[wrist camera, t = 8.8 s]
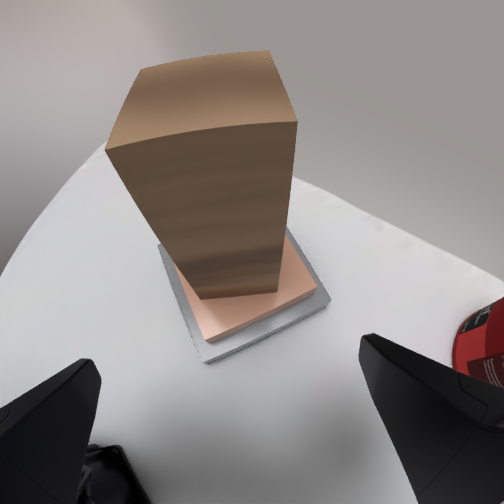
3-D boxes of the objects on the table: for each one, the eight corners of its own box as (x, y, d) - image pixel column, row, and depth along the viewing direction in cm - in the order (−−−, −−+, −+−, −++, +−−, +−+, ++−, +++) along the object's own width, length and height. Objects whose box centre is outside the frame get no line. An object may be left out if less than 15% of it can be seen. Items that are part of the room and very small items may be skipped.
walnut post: (277, 292, 18) (297, 121, 6) (200, 299, 18) (104, 150, 6) (267, 226, 20) (268, 50, 8) (199, 233, 20) (140, 69, 8)
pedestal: (326, 306, 21) (337, 292, 18) (207, 363, 19) (196, 360, 16) (267, 209, 25) (268, 184, 22) (164, 254, 23) (150, 234, 20)
